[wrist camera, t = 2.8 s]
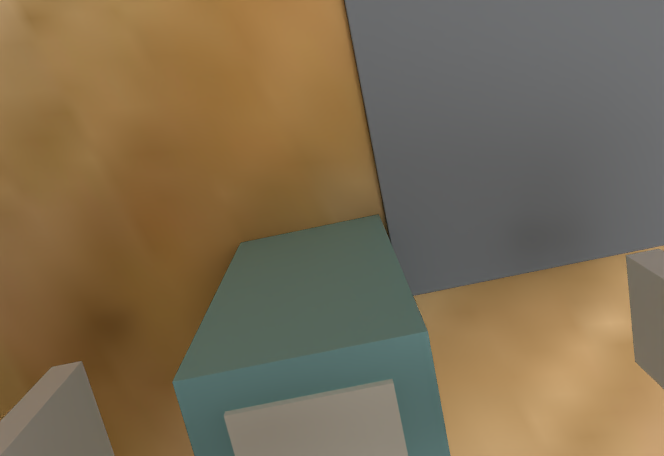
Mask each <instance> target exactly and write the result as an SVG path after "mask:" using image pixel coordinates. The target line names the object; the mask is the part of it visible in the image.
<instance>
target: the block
mask: <svg viewBox="0 0 664 456" xmlns="http://www.w3.org/2000/svg"><path fill="white" fill-rule="evenodd" d="M172 383H173V386H174V389H175V393H176V396H177V399H178V403H179V406H180V409H181V412H182V416H183V419H184V422H185V426H186V429H187V432H188V436H189V439H190V442H191V446H192V449H193V452H194V455H195V456H450V451H449V445H448V440H447V434H446V429H445V423H444V418H443V412H442V407H441V401H440V396H439V390H438V385H437V379H436V374H435V368H434V363H433V357H432V352H431V346H430V341H429V335H428V331H427V328H426V326H425V323H424V321H423V319H422V316H421V314H420V311H419V309H418V307H417V304H416V302H415V300H414V297H413V295H412V292H411V290H410V288H409V285H408V283H407V280H406V278H405V276H404V273H403V271H402V269H401V266H400V264H399V261H398V259H397V257H396V254H395V252H394V249H393V247H392V245H391V242H390V240H389V237H388V235H387V233H386V230H385V228H384V226H383V223H382V221H381V218H380V216H379V214H378V215H373V216H368V217H363V218H358V219H354V220H349V221H344V222H339V223H334V224H329V225H324V226H320V227H315V228H310V229H305V230H300V231H295V232H290V233H286V234H281V235H276V236H271V237H266V238H261V239H256V240H252V241H247V242H242V243H240V245H239V247H238V249H237V251H236V253H235V255H234V257H233V259H232V261H231V263H230V265H229V267H228V269H227V271H226V273H225V275H224V278H223V280H222V282H221V284H220V286H219V288H218V290H217V292H216V294H215V296H214V298H213V300H212V302H211V304H210V306H209V308H208V310H207V312H206V314H205V316H204V318H203V320H202V322H201V324H200V326H199V328H198V331H197V333H196V335H195V337H194V339H193V341H192V343H191V345H190V347H189V349H188V351H187V353H186V355H185V357H184V359H183V361H182V363H181V365H180V367H179V369H178V371H177V373H176V375H175V377H174V379H173V382H172Z"/></svg>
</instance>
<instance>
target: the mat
mask: <svg viewBox="0 0 664 456" xmlns="http://www.w3.org/2000/svg"><path fill="white" fill-rule="evenodd" d="M344 2H345V7H346V13H347V18H348V23H349V28H350V34H351V39H352V44H353V49H354V54H355V60H356V65H357V70H358V75H359V81H360V86H361V91H362V96H363V102H364V107H365V112H366V117H367V122H368V128H369V133H370V138H371V143H372V149H373V154H374V159H375V164H376V169H377V175H378V180H379V185H380V190H381V196H382V201H383V206H384V211H385V216H386V222H387V227H388V232H389V237H390V242H391V245H392V247H393V249H394V252H395V254H396V257H397V259H398V261H399V264H400V266H401V269H402V271H403V273H404V276H405V278H406V280H407V283H408V285H409V288H410V290H411V292H412V295H413V296H414V295H419V294H424V293H429V292H434V291H439V290H444V289H449V288H454V287H459V286H464V285H469V284H474V283H479V282H484V281H489V280H494V279H499V278H504V277H509V276H514V275H519V274H524V273H529V272H534V271H538V270H543V269H548V268H553V267H558V266H563V265H568V264H573V263H578V262H583V261H588V260H593V259H598V258H603V257H608V256H613V255H618V254H623V253H628V252H633V251H638V250H643V249H648V248H653V247H658V246H663V245H664V0H344Z"/></svg>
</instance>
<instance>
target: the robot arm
mask: <svg viewBox="0 0 664 456" xmlns="http://www.w3.org/2000/svg"><path fill="white" fill-rule="evenodd" d="M626 262H627V274H628V285H629V297H630V308H631V320H632V331H633V343H634V354H635V362H636V363H637V364H638V365H639V366H640V367H641V368H642V369H643V370H644V371H645V372H646V373H647V374H649V375H650V376H651V377H652V378H653V379H654V380H655V381H656V382H657V383H658V384H659V385H660V386H661V387H662V388H663V389H664V251H662V250H661V249H656V250H651V251H645V252H640V253H635V254H630V255H626ZM0 456H115V455H114V452H113V449H112V447H111V444H110V441H109V438H108V435H107V432H106V429H105V426H104V423H103V421H102V418H101V415H100V412H99V409H98V406H97V403H96V400H95V397H94V395H93V392H92V389H91V386H90V383H89V380H88V377H87V374H86V372H85V369H84V366H83V363H82V361H79V362H74V363H69V364H64V365H59V366H53V367H51V368H50V369H49V370H48V371H47V372H46V373H45V374H44V375H43V377H42V378H41V379H40V380H39V381H38V382H37V383H36V384H35V385H34V386H33V387H32V388H31V389H30V390H29V391H28V392H27V393H26V395H25V396H24V397H23V398H22V399H21V400H20V401H19V402H18V403H17V404H16V405H15V406H14V407H13V408H12V409H11V410H10V411H9V412H8V414H7V415H6V416H5V417H4V418H3V419H2V420H1V421H0Z"/></svg>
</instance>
